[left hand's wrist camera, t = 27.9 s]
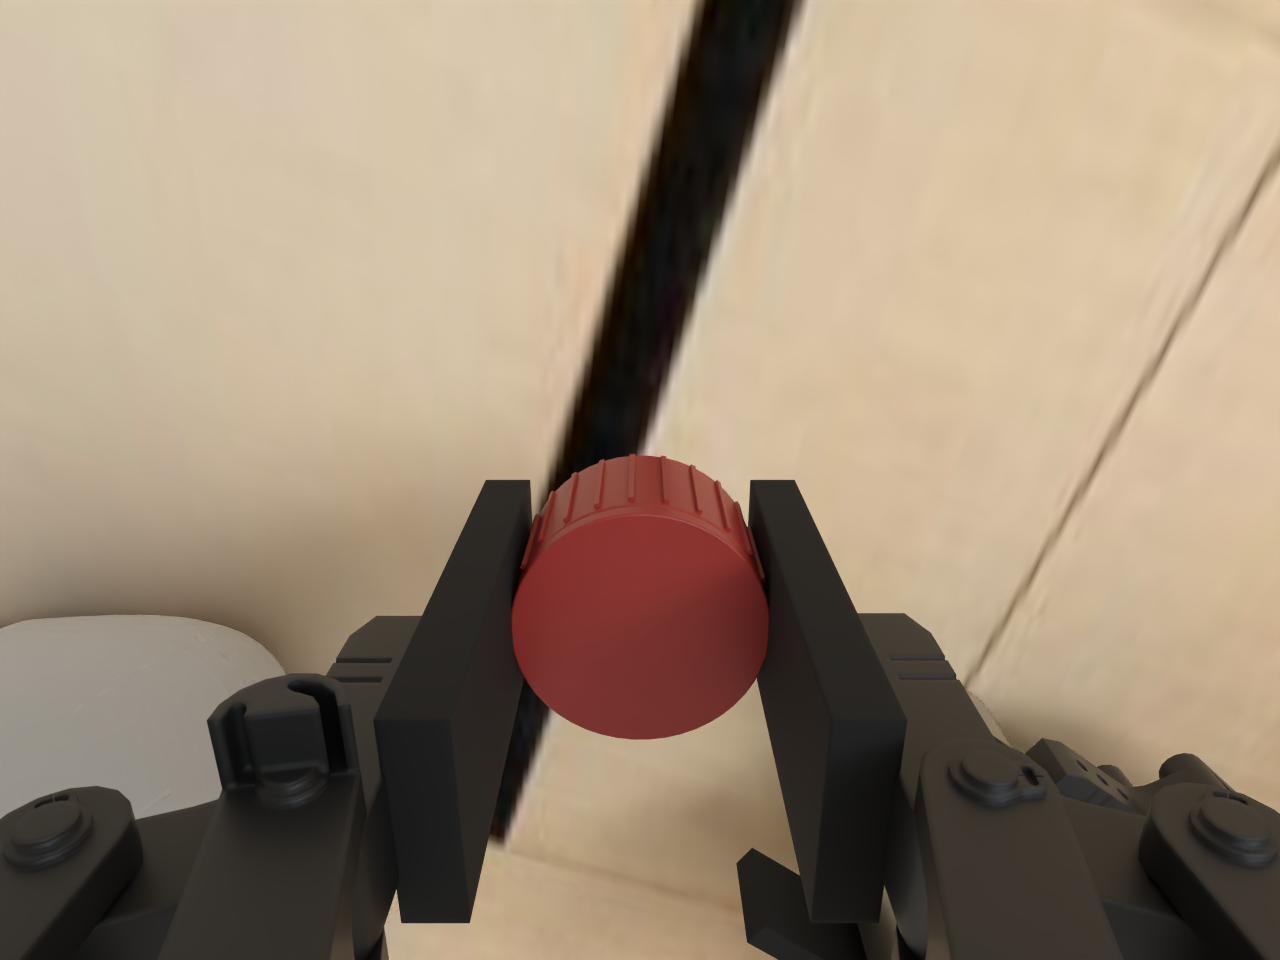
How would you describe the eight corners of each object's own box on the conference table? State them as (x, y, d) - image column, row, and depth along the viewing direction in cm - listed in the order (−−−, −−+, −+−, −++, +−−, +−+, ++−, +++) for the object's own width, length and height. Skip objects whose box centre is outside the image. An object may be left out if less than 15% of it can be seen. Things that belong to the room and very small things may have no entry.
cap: (593, 684, 16) (584, 777, 13) (486, 511, 14) (456, 579, 12) (788, 602, 15) (815, 684, 13) (695, 412, 14) (706, 465, 11)
